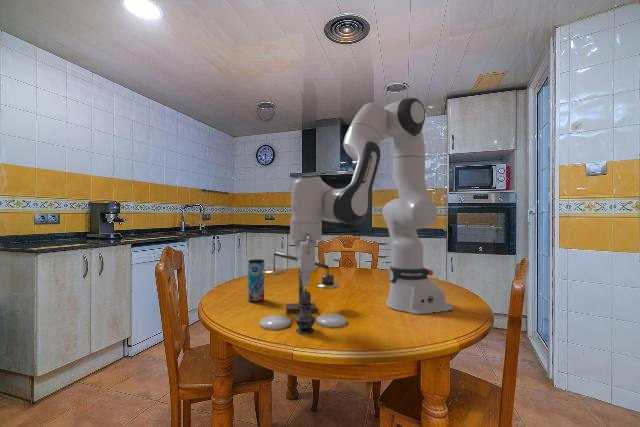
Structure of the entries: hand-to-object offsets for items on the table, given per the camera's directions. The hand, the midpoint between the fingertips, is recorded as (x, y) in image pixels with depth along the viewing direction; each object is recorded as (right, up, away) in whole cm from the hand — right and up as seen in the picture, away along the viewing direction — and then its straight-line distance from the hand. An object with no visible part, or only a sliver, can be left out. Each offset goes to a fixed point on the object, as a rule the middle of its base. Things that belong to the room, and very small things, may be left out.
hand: (304, 282), depth 86 cm
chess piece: (0, -14, 0) cm, 14 cm away
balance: (-2, -14, +18) cm, 23 cm away
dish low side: (+8, -14, +7) cm, 18 cm away
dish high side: (-9, -14, +5) cm, 17 cm away
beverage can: (-20, -14, +29) cm, 37 cm away
